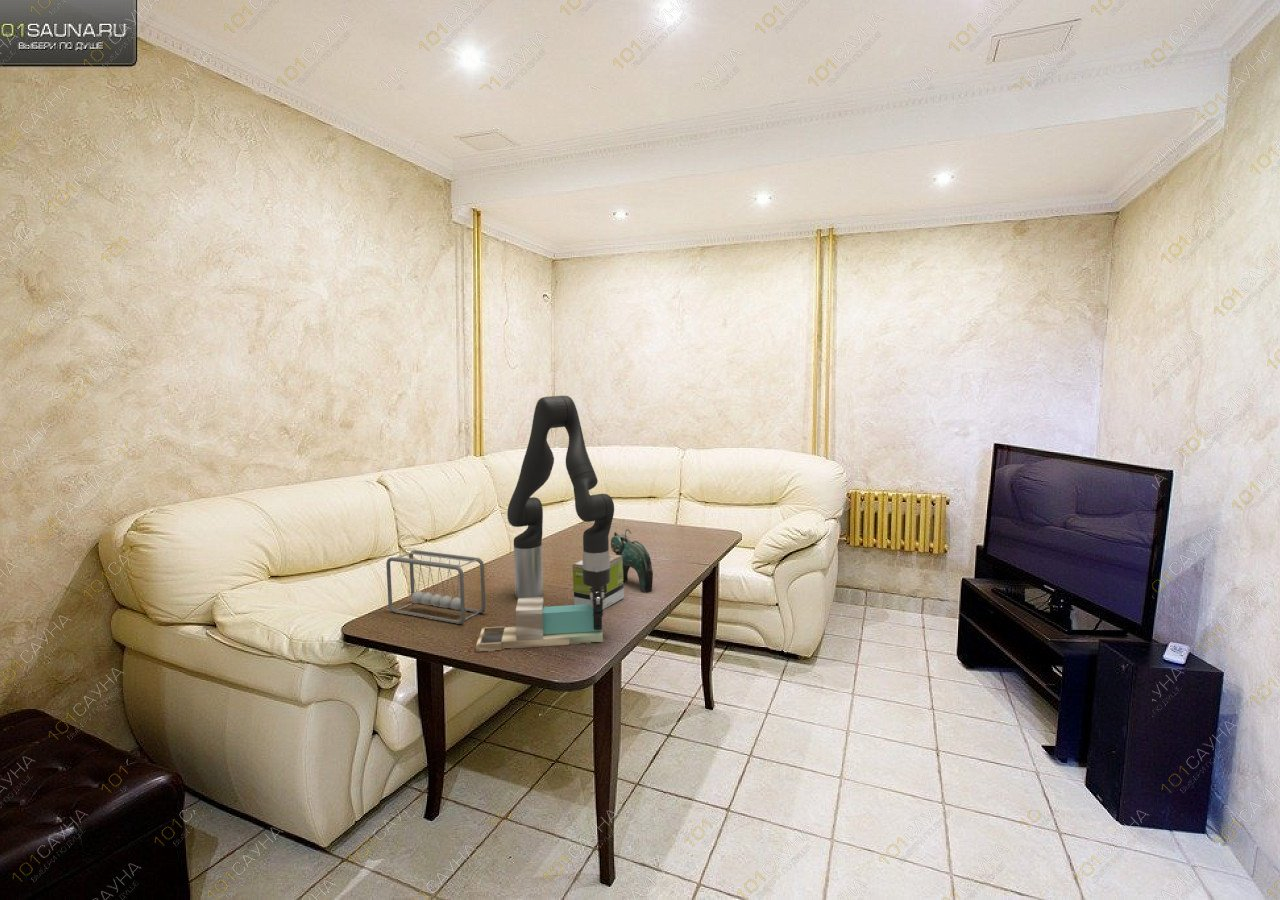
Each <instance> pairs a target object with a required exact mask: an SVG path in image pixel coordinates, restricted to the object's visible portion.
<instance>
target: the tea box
mask: <svg viewBox="0 0 1280 900" xmlns="http://www.w3.org/2000/svg"><path fill="white" fill-rule="evenodd" d="M609 556H610V582H609V583H608V584H607V585H603V586H601V588H603V589H604V597H603V600H604V607H603V610H605V609H608V607H610V606H611V605H612V606H613V604H616V603H618V602H619V601H621V600H623V599H624V598H625V586H624V583H625V582H623V558H622V556H621V555H616V554H611V553H609ZM572 584H573V603H574V604H573V605H584V604H591V602H590V593H589V588H591V586H588V585H585V584H584V583H583V558H582V559H580V560H578V561H575V562H573V563H572Z"/></svg>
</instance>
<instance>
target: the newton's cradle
mask: <svg viewBox="0 0 1280 900" xmlns="http://www.w3.org/2000/svg"><path fill="white" fill-rule="evenodd" d="M414 555H417V556H414ZM405 556H409V558H406V557H405ZM423 556H424V558H422V557H423ZM417 557H420V559H415V558H417ZM433 557H434V559H432V558H433ZM428 558H429V560H424V559H428ZM438 559H446V561H447V560H449V562H448V563H446V562H445V563H444V560H442V561H439V562H437V561H435V560H438ZM451 560H456V561H453V562H451ZM462 561H464V562H466V563H464V564H460V563H461V562H462ZM391 562H395V563H396V562H397V563H402V564H403V563H405V564H409V579H410V580H409V582H410V597H411V601H412V602H411V603H409V604H407V605H404V606H402V607H400V608H398V609H400V610H398V609H395V607H394V606H393V592H392V591H393V590H392V589H393V588H392V573H391V572H392V571H391V570H392V569H391ZM455 562H458V564H454V563H455ZM474 562H478V564H479V568H480V593H481V595H480V596H481V609H475V608H470V607H465V604H466V603H465V582H464V581H465V579H464V578H465V577H464V570H463V569H462V568H461V567H464V566H466V565H469V564H471V563H474ZM385 565H386V583H387V599H388V603H387V604H388V609H389V610H390V611H391V612H392V611H395V612H402V613H407V614H411V615H416V616H422V617H427V618H432V619H437V620H441V621H447V622H453V623H458V624H461V625H462V624H464V622H465V621H466V620H468V619H471V618H472V617H474V616H476V615H479V614H478V613H482V614H484V613H485V611H486V608H487V607H486V586H485V585H486V581H485V564H484V561H483V560H482V559H481V558H480V557H473V556H467V555H466V556H465V555H457V554H449V553H443V552H441V553H440V552H434V551H425V550H416V549H413V550H411V551H410V552H408V553H406V554H402V555H399V556H396V557H393V556H392V557H389V558H388V559H387V560H386V564H385ZM414 565H419V567H420V568H419V571H420V574H419V576H418V581H420V578H422V582H423V586H424V593H423V592H422V591H419V590H420V584H417V585H418V589H417V586H416V580H415V576H414V574H415V573H414V571H415V569H414ZM422 566H426V567H428V568H429V569H428V575H431V576H430V577H431V582H432V587H433V592H434V594H433V593H431V592H429V588H427V589H426V586H425V581H424V576H423V571H422ZM431 567H433V568H438V570H441V568H442V569H447V570H448V572H447V574H448V575H447V577H449V575H450V579H451V585H452V587H453V588H452V589H453V590H455V587H454V583H453V578H452V573H451V570H456V571H457V572H458V576H457V581H459V587H457V589H456V590H457V591H456V592H455V591H453V594H454V597H453V598H452V597H451V596H450V595H447V594H448V592H443V596H442V595H441V594H439V593H436V591H438V589H439V588H438V587H439V584H436V585H437V586H436V589H435V585H434V579H433V574H432V570H431ZM421 576H422V577H421ZM439 576H440V579H441V584H442V590H443V591H445V588H444V582H443V578H442V572H441V571H439V573H438V576H437V581H439V580H440V579H439ZM429 582H430V578H428V581H427V585H429ZM448 584H449V581H447V583H446V585H447V586H446V588H448V586H449V585H448ZM445 593H446V594H445ZM458 593H459V594H458ZM458 595H460V597H458ZM420 602H421V603H423V604H422V605H425V606H429V605H428V604H431V605H433V606H432V607H436V606H441V607H443V609H447V608H452V609H451V610H453V609H454V611H459V610H461V611H460V620H457V619H453V618H452V619H450V618H444V617H442V616H441V617H439V616H433V615H429V614H423V613H417V612H413V611H412V612H411V611H406V610H402V609H401V608H403V607H405V608H407V607H409V606H408V605H410V606H412V605H413V604H412V603H414V604H418V603H420ZM411 604H412V605H411ZM406 606H407V607H406ZM441 607H440V608H441ZM403 609H404V608H403ZM465 611H470V612H469V613H471V612H475V613H472V614H471V615H470V616H467V617H466V612H465ZM441 621H440V622H441Z"/></svg>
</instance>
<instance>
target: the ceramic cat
mask: <svg viewBox="0 0 1280 900" xmlns="http://www.w3.org/2000/svg"><path fill="white" fill-rule="evenodd" d="M624 531H625V534H621V535H620V534H618V533H617V532H616V531H614V533H613V536H612V538H611V540H610V549H611V551H612V552H614V553H615V555H621V556H622V558H623V581H626V580H629V579H628V575H629V574H628V573H629V570H630V568H632V569H633V570H635V572H636V574H637V576H638V581H639V587H640V592H642V591H643V592H642V593H645V592H646V593H649V592H648V591H650V592H652V591H653V582H654V581H653V578H654V577H653V576H654V571H653V565H652V564H653V563H652V561H651V560H652V559H651V556H650V554H649V551H648V550H647V548H645V546H644V545H643V543H642V542H639V541H637V540H635V541H631V539H630V538H629V536H627V531H628V533H629V534H631V535H632V532H631V530H630V529H629V528H626V529H625V530H624ZM626 582H627V581H626Z"/></svg>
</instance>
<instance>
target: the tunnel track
mask: <svg viewBox="0 0 1280 900" xmlns="http://www.w3.org/2000/svg"><path fill="white" fill-rule="evenodd" d="M544 601H545V600H544V596H541V597H533V598H517V603H516V606H515V607H516V608H515V626H505V625H500V626H485V627H482V628H481V630H480V634H479V635H478V639H477V642H476V645H475V646H476V652H477V651H488V652H496V651H495V650H501V651H502V650H505V649H504V648H511V649H525V648H538V647H539V648H540V647H552V646H553V647H554V646H555V647H557V646H568V645H569V644H571V645H581V644H580V643H586V644H592V643H591V642H601V643H604V635H603V634H604V633H603V630H602V631H594V632H578V633H562V634H547V635H543V607H545V605H544ZM569 646H570V645H569Z"/></svg>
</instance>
